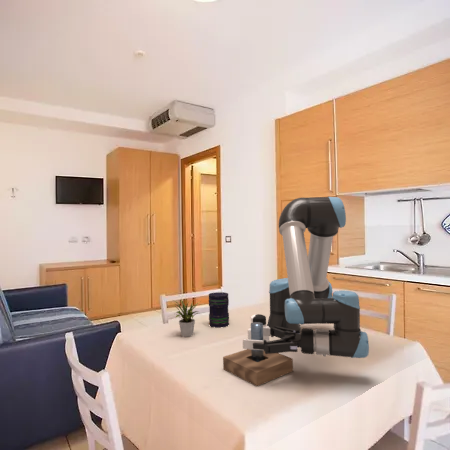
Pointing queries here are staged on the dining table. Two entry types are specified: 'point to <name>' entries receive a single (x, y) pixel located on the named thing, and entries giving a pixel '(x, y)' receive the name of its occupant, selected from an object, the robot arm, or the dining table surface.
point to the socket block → (257, 366)
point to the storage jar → (218, 309)
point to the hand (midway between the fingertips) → (247, 336)
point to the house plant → (186, 319)
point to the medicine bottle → (260, 319)
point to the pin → (257, 335)
